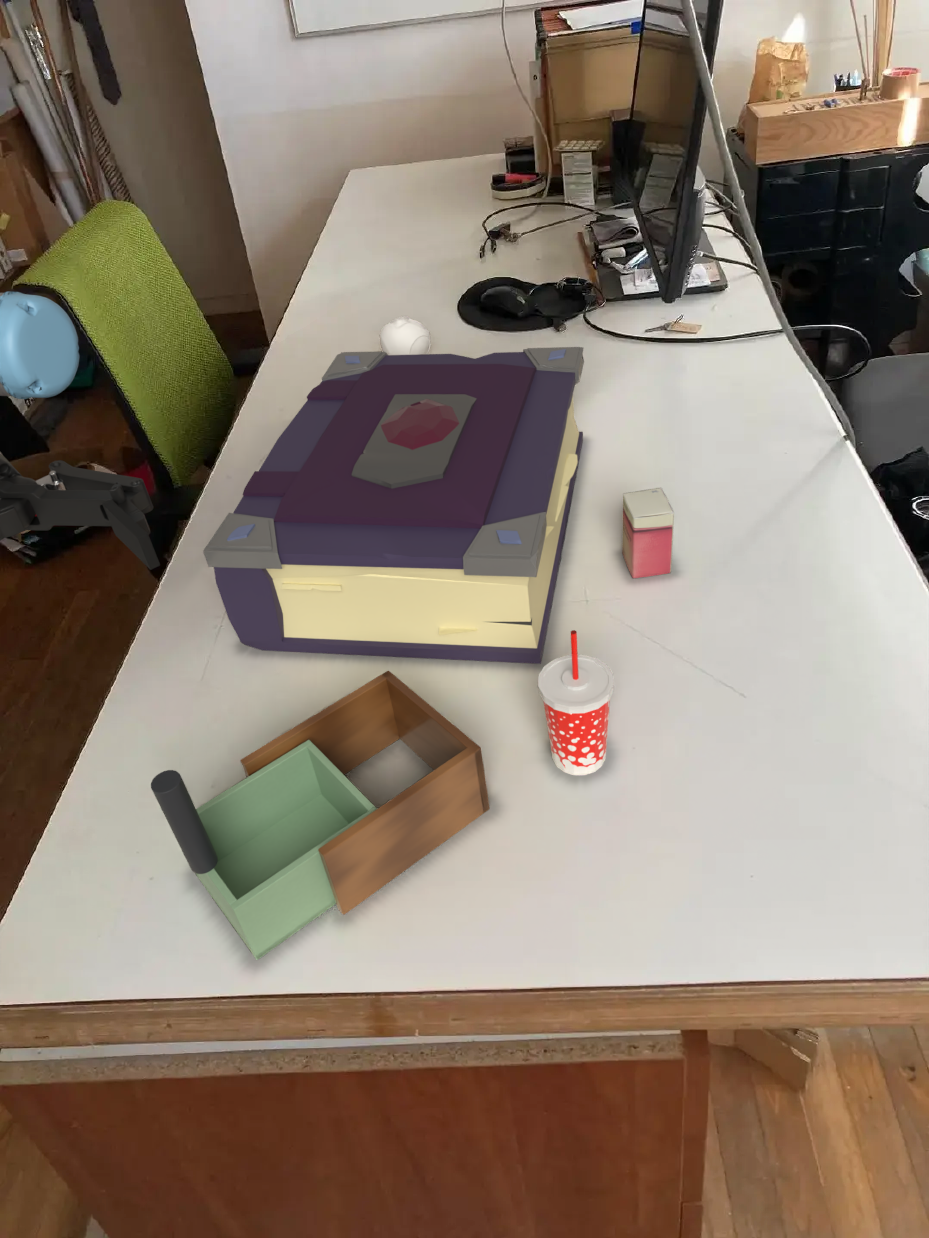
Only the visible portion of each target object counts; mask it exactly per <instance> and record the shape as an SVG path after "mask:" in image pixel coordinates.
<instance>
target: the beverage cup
mask: <svg viewBox="0 0 929 1238" xmlns="http://www.w3.org/2000/svg"><path fill="white" fill-rule="evenodd" d="M570 647H571V649H570V650H571V654H567V655H563V656H560V657H556V658H554V659H552V660H551V661H550V662H548V663H547V664H545V665H544V666H543V667H542V669H541V670H540V672H539V674H538V675H537V689H538V694H539V695H540V697H541V699H542V701H543V707H544V713H545V721H546V727H547V731H548V739H549V744H550V751H551V757H552V761H553V763H554V764H555V766H556V768H558V769H559V770H560V771H562V772H563V773H565V774H568V775H572V776H587V775H590V774H593V773H595V772H596V771H598V770H599V769H600V768H602V767H603V766H604V762H605V761H606V758H607V744H608V731H609V718H610V706H611V705H610V703H611V697H612V695H613V693H614V692H615V690H614V688H615V678H614V673H613V671H612V670H611V668H610V667H609V665H608V664H607V663H606V662H604V661H602V660H600V659H599V658H597V657H594V656H591V655H586V654H578V632H577V630H575V629H573V630H572V629H571V631H570Z"/></svg>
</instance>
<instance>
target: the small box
mask: <svg viewBox="0 0 929 1238" xmlns="http://www.w3.org/2000/svg"><path fill="white" fill-rule="evenodd" d="M674 520H675V511H674V509H673V507H672V504H671V502H670V500H669V498H668V497H667V495H666V493H665V491H664V490H663V488H662V487H656V488H649V489H643V490H635V491H630V492H629V491H628V492H623V493H622V533H621V534H622V535H621V536H622V537H621V539H622V541H621V542H622V543H621V553H622V556H623V558H624V562H625V564H626V567H627V569H628V572H629V573H630V576H631V578H632V579H639V578H640V579H641V578H647V577H655V576H661V575H667V574H671V573H672V561H673V541H674V540H673V538H674V524H675V523H674V522H675V521H674Z"/></svg>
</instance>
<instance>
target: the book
mask: <svg viewBox="0 0 929 1238" xmlns="http://www.w3.org/2000/svg"><path fill="white" fill-rule="evenodd" d="M584 349H585V348H584V347H582V346H561V347H559V346H557V347H527V348H523V349H522V351H511V352H510V351H507V352H506V351H505V352H504V351H502V352H492V353H488V354H485V355H482V356H479V357H475V358H474V357H468V356H463V355H459V354H455V353H428V354H419V355H388V354H387V353H386V352H383V351H381V350H380V351H343V352H342V351H341V352H340V353H338V354H336V355H335V358H334V359H333V360H332V362H331V364H329V366H328V368H327V369H326V371H325V372H324V374H323V376H322V377H321V382H320V383H319V384H317V385H316V386H315V387H313V388H312V389H311V390H310V391H309V393H308V394H307V395H306V399H307V400H306V401H305V402H304V404H303V405H302V406H301V408H300V409H299V410H298V412H296V414H295V416H294V417H293V418H292V420H291V421H290V423H288V425H287V426H286V427H285V429H284V430H283V431H282V433H281V434H280V435H279V436H278V438H277V440H276V441H275V443H274V444H273V447H272V448H271V449H270V451H269V453H268V454H267V456H266V458H265V459H264V460H263V462H262V464H261V465H260V468H259V469H258V470H257V471H256V470H254V472H253V473H252V476H251V477H250V478H249V480H248V481H247V483H246V485H245V487H244V488H243V491H242V497H241V499H240V500H239V502H238V504H237V506H236V507H235V508H234V511H233V512H228V513H227V514H226V516H225V517H224V519H223V521H222V522H221V524H220V525H219V526H218V528H217V529H216V531H215V532H214V534H213V535H212V537H211V538H210V540H209V541H208V543H207V544H206V545H205V547H204V548H203V550H202V552H203V555H204V558H205V561H206V565H207V567H208V568H213V571H214V579H215V584H216V587H217V590H218V593H219V595H220V598H221V601H222V604H223V607H224V610H225V612H226V616H227V618H228V620H229V623H230V625H231V626H232V628H233V630H234V632H235V634H236V635H237V637H238V639H239V641H240V643H241V644H243V645H245V646H247V647H251V648H254V649H256V650H259V651H267V652H285V653H286V652H287V653H290V652H291V653H292V652H293V653H306V654H307V653H308V654H310V653H311V654H326V655H327V654H330V655H352V656H369V657H371V656H373V657H392V658H393V657H394V658H413V659H414V658H415V659H434V660H435V659H436V660H453V661H454V660H455V661H472V662H473V661H475V662H495V663H515V664H516V663H518V664H534V665H535V664H537V665H538V664H539V665H541V664H542V661H543V656H544V655H543V654H544V649H545V644H546V639H547V633H548V629H549V625H550V618H551V612H552V607H553V602H554V597H555V592H556V587H557V586H556V585H557V580H558V575H559V570H560V564H561V559H562V553H563V549H564V544H565V539H566V533H567V527H568V523H569V522H568V521H569V518H570V512H571V506H572V501H573V497H574V496H573V495H574V490H575V484H576V479H577V476H578V475H577V474H578V469H579V464H580V459H581V453H582V449H583V444H584V443H583V442H584V433H583V431H579V429H578V428H579V427H578V424H577V423H576V418H575V408H574V405H575V404H574V392H575V386H576V385H578V384H579V383H581V378H582V373H583V370H584V365H585V364H584V363H585V358H584V355H583V354H584Z"/></svg>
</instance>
